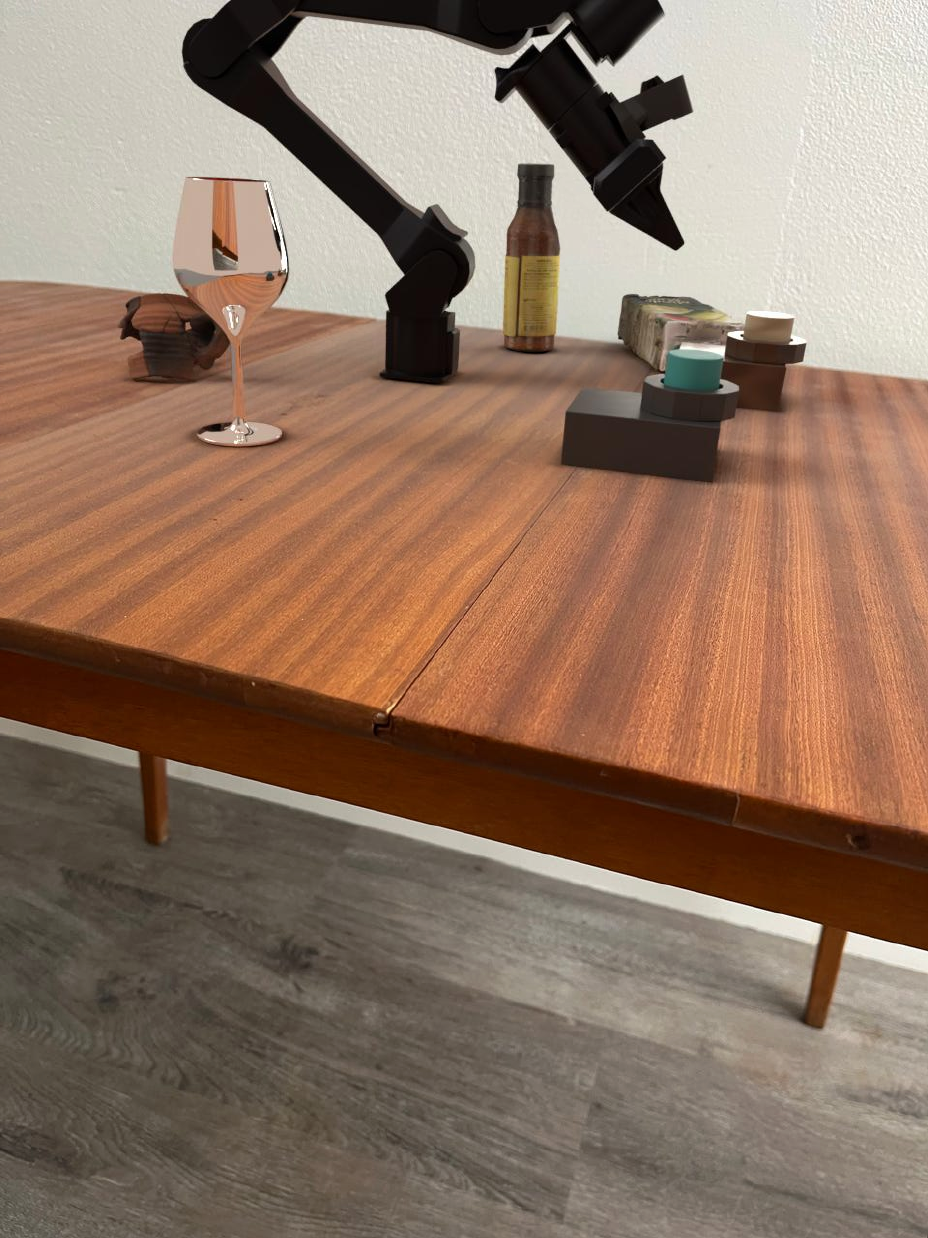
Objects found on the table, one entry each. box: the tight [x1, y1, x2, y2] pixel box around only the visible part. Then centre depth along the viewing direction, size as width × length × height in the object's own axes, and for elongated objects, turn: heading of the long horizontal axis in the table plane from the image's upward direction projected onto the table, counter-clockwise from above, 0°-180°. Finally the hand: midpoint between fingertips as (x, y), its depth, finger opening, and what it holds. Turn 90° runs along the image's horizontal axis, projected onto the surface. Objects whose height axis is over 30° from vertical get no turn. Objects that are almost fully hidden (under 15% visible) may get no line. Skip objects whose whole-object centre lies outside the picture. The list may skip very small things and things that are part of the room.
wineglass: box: [171, 176, 291, 447], centre depth 72 cm, size 8×8×18 cm
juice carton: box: [617, 293, 745, 372], centre depth 114 cm, size 20×10×6 cm, turn 7°
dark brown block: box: [560, 373, 739, 483], centre depth 75 cm, size 12×9×6 cm
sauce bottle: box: [502, 162, 561, 353], centre depth 112 cm, size 6×6×20 cm
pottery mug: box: [117, 292, 230, 382], centre depth 94 cm, size 12×10×8 cm
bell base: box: [680, 331, 808, 413], centre depth 96 cm, size 12×9×6 cm
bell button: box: [743, 310, 795, 342], centre depth 94 cm, size 4×4×3 cm
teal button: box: [664, 349, 724, 391], centre depth 73 cm, size 4×4×2 cm
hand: (680, 246), depth 92 cm, fingers closed
